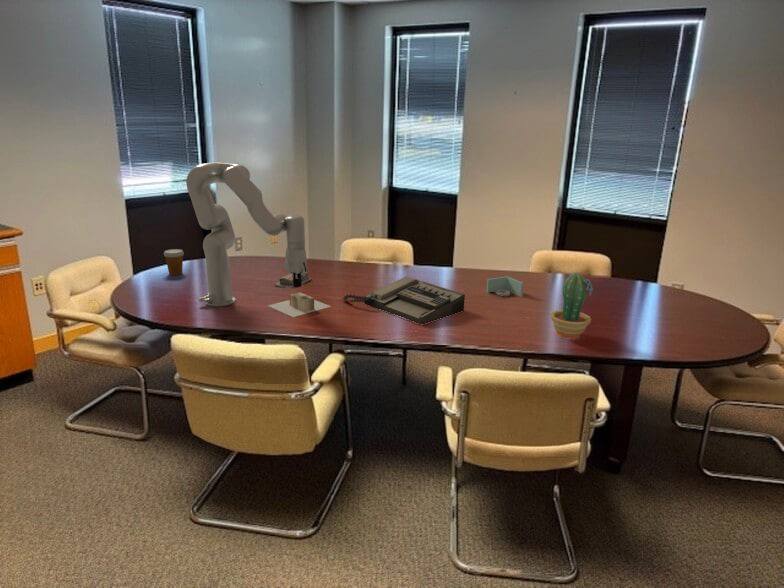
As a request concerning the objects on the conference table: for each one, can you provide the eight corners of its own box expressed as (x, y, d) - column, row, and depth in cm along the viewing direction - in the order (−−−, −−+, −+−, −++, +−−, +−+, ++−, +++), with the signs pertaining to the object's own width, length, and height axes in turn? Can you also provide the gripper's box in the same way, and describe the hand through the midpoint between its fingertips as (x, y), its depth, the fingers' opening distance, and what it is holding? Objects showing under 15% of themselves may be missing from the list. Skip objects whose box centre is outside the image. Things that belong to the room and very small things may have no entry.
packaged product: (294, 268, 286) (311, 271, 282) (295, 277, 288) (311, 280, 284) (274, 277, 270) (291, 280, 267) (274, 287, 272) (291, 290, 268)
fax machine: (337, 303, 251) (336, 282, 248) (392, 288, 274) (392, 269, 271) (408, 331, 221) (408, 309, 218) (463, 312, 243) (465, 291, 240)
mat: (293, 318, 230) (293, 317, 230) (267, 306, 243) (267, 305, 243) (331, 307, 244) (331, 306, 244) (304, 297, 257) (304, 296, 256)
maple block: (289, 305, 244) (304, 311, 237) (289, 294, 242) (304, 300, 235) (299, 302, 247) (314, 309, 240) (298, 292, 246) (314, 298, 238)
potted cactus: (572, 346, 209) (580, 282, 201) (539, 333, 221) (546, 272, 213) (597, 337, 217) (606, 276, 210) (564, 325, 229) (571, 266, 221)
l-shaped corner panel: (486, 294, 269) (487, 279, 267) (506, 291, 274) (507, 276, 272) (501, 301, 259) (503, 285, 257) (522, 298, 264) (523, 282, 262)
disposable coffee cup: (166, 271, 291) (164, 249, 288) (185, 270, 294) (183, 248, 290) (165, 276, 283) (162, 253, 279) (185, 275, 285) (183, 252, 282)
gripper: (278, 243, 238) (280, 284, 244) (299, 249, 228) (300, 292, 234) (292, 241, 243) (294, 281, 249) (314, 247, 233) (315, 288, 239)
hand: (297, 286), depth 241 cm, fingers closed
